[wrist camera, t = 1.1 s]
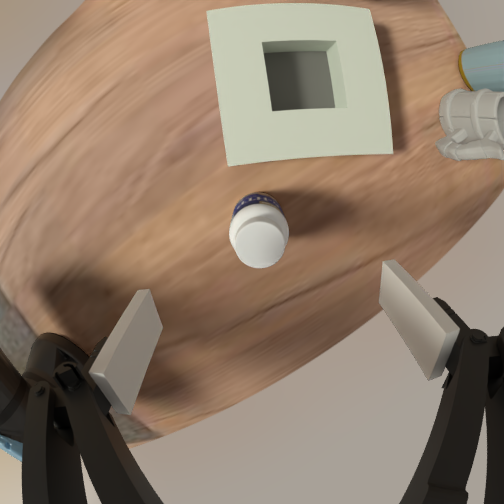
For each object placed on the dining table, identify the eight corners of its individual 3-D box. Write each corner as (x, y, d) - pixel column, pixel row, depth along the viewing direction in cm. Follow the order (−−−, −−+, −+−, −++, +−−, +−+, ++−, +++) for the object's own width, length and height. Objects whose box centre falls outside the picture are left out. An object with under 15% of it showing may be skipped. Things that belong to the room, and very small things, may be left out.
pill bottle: (281, 190, 29) (294, 211, 21) (282, 236, 31) (294, 273, 23) (230, 193, 29) (223, 215, 21) (234, 240, 31) (230, 277, 23)
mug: (482, 127, 25) (545, 136, 14) (438, 176, 28) (505, 199, 17) (456, 80, 23) (520, 74, 12) (407, 126, 26) (477, 129, 15)
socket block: (230, 162, 28) (227, 166, 24) (211, 25, 22) (206, 11, 18) (376, 151, 27) (393, 153, 23) (356, 21, 21) (369, 9, 17)
